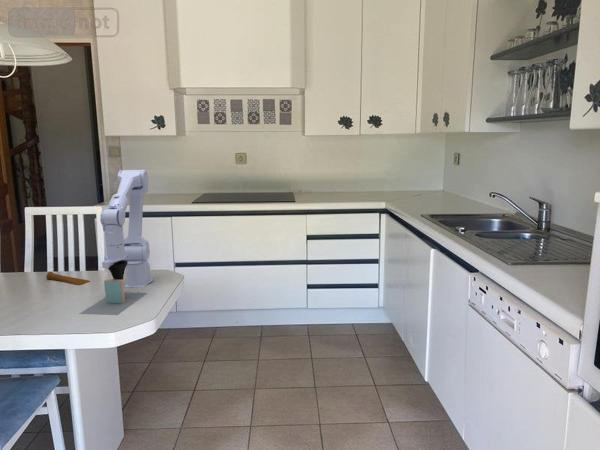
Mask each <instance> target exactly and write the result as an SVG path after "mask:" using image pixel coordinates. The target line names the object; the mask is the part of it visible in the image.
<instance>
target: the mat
mask: <svg viewBox="0 0 600 450" xmlns="http://www.w3.org/2000/svg"><path fill="white" fill-rule="evenodd" d="M146 295H148V292H130V291H129V292H127V291H124V297H125V303H123V304H118V303H106V296H105V297H104V298H102V299H100V300H99V301H96V302H95V303H94V304H92V305H91V306H89V307H87V308H86V309H84V310H82V312H80V313H79V314H80V315H98V316H99V315H101V316H102V315H105V316H106V315H107V316H119V315H120V314H121V313H122V312H124V311H125V310H127V309H128V308H129V307H131V306H132V305H133V304H134V305H135V304H136V302H138V301H139V300H140V299H142V298H143V297H144V296H146Z"/></svg>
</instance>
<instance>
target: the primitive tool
mask: <svg viewBox="0 0 600 450" xmlns="http://www.w3.org/2000/svg"><path fill="white" fill-rule="evenodd" d="M45 277H46V280H47V281H51V280H53V281H57V282H62V283H67V284H72V285H74V286H75V285H76V286H82V285H85V284H88V283H90V282H91V280H88V279H82V278H77V277H71V276H66V275H62V274H57V273H54V272H53V271H48V272H47V274H46V276H45Z"/></svg>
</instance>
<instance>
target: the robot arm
mask: <svg viewBox="0 0 600 450" xmlns="http://www.w3.org/2000/svg"><path fill="white" fill-rule="evenodd" d="M117 183H118V187H117V188H118V189H117V191H116V193H115V194H112V196H111V199H110V200H109V203H108V205H107V207H106V209H105V208H104V210H102V211H101V213H100V217H99V221H100V224H101V227H102V231H103V232H104V237H105V249H106V256H104V261H102V262H101V264H102V265H101V266H102V267H101V268H103V269H108V270H109V273H110V275H111V276H112V279H119V280H123V281H124V275H126V283H125V284H123V286H124V288H144V287H146V286H147V285H149V284H150V283H152V282H154V279H153V278H152V276H151V265H150V262H149V258H150V255H151V252H150V251H151V250H150V243H149V241H148V240H147V239H146V238H144V237H143V214H144V213H143V209H144V195H145V194H146V193H148V192H149V190H148V189H149V175H148V171H147V170H146V169H119V171H118V172H117ZM128 197H129V198H128ZM128 206H129V211H128V233H127V236H126V238H124V235H125V234H124V227H123V226H124V224H125V222H126V210H127V207H128ZM125 272H126V273H125Z"/></svg>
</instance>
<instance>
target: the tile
mask: <svg viewBox="0 0 600 450" xmlns="http://www.w3.org/2000/svg"><path fill="white" fill-rule="evenodd" d="M103 284H104V293H105V295H104V296H105V297H106V303H118V304H123V303H125V297H124V292H125V289H124V288H125V287H124V279H123V280H119V279H113V278H112V279H111V278H110V279H109V278H108V279H107V278H106V279H104V280H103Z"/></svg>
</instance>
